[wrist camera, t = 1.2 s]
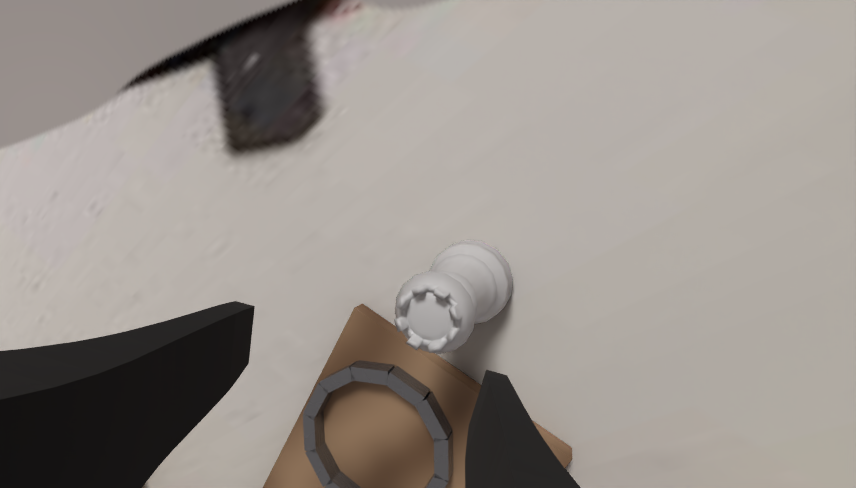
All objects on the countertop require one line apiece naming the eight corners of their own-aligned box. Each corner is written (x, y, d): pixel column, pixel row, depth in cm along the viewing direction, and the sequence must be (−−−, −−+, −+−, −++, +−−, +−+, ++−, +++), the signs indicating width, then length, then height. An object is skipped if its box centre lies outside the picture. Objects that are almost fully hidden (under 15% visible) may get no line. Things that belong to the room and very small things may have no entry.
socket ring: (482, 426, 22) (479, 436, 21) (407, 539, 24) (401, 553, 23) (350, 331, 24) (341, 337, 23) (292, 444, 26) (282, 453, 26)
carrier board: (571, 447, 22) (572, 459, 21) (418, 651, 26) (412, 668, 25) (362, 303, 25) (354, 307, 24) (257, 508, 29) (247, 518, 28)
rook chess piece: (532, 276, 21) (513, 319, 14) (478, 335, 23) (433, 403, 15) (468, 221, 22) (417, 233, 15) (419, 281, 24) (349, 320, 16)
